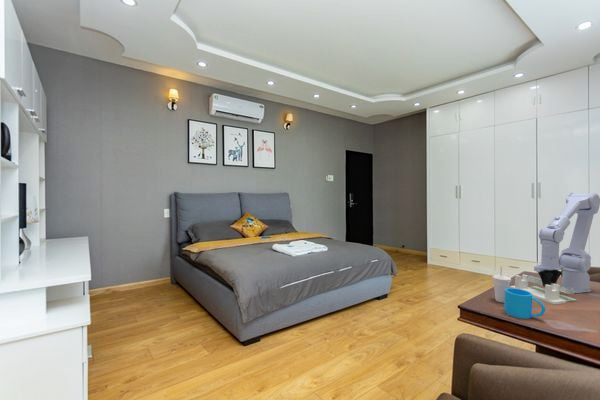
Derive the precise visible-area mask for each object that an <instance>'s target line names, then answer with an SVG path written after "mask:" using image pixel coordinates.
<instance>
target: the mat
mask: <svg viewBox="0 0 600 400" xmlns="http://www.w3.org/2000/svg"><path fill="white" fill-rule="evenodd" d="M528 288H530V289H533V290H536V291H539V292H542V293H544V294H545V288H542V287H539V286H537V285H532V286H528ZM559 299H562V300H565V301H566V303H568V302H575V301H576V302H577V301H578V299H576V298H572V297H571V296H567V295H565V294H561V293H560V295H559Z"/></svg>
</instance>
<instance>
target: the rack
mask: <svg viewBox="0 0 600 400" xmlns="http://www.w3.org/2000/svg"><path fill="white" fill-rule="evenodd" d="M521 275H522V276H521ZM521 275H518V274H516V275H515V276H514V285H510V286H509V288H516V289H522V290H525V291H528V292H530V293H532V294H533V295H532V297H534V298H536V299H538V300H539V301H543V302H546V303H548V304H550V305H551V304H552V305H561V304H562V305H563V304H567V302H566V301H565V300H562V299H559V295H560V294H561V291H560V285H557V284H553V289H552V286H551V285H547V284H546V285H545V287H544V289H545V294H544V293H542V292H539V291H536V290H533V289H530V288H528V287H529V281H528V276H529V275H527V274H523V273H522V274H521Z"/></svg>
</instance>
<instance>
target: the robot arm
mask: <svg viewBox="0 0 600 400" xmlns="http://www.w3.org/2000/svg"><path fill="white" fill-rule="evenodd" d="M599 209H600V196H599V195H598V193H594V192H593V193H583V192H581V193H579V192H577V193H575V192H569V193H568V194H567V196H566V198H565V206H564V208H563V209H562V210H561V212H560V214H559V215H555V216H554V217H553V219H551V221H550V222H549V224H548V225H547V226H546V227H543V228H541V229H540V231H539V234H538V238H539V240H540V245H541V256H540V257H541V260H540V262H541V263H540V264H539V265H538V264H537V265H534V267H533V271H534V272H537V274H538V275H539V278H541V280H542V284H543V287H544V288H545V285H546V284H547V285H550V281H551V282H554V283H557V282H558V279H559V278H560V277H561V285H564V286H568V287H571V288H574V294H582V293H591V292H592V290H591V289H590V279H591V278H590V275H589V273H588V271H589V270H591V269H590V268H591V265H592V263H591V260H592V257H591V255H590V254H589V253H587V251H586V250H585V249H586V246H587V242H588V238H589V236H590V235H589V234H590V230H591V227H592V223H593V220H594V217H595V216H594V215H596V214H598V212H599ZM575 214H577V216H576V219H575V220H576V221H575V224H574V228H573V232H572V236H571V238H570V242H569V243H570V244H569V247H567V248H564V249H562V250H561V251H560V243H561V242H562V241H563V240H564V236H565V231H566V229H568V227H569V226H570V224H571V218H572V217H573V216H575ZM560 252H561V253H560ZM561 270H562V271H561Z"/></svg>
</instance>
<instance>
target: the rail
mask: <svg viewBox="0 0 600 400" xmlns="http://www.w3.org/2000/svg"><path fill="white" fill-rule="evenodd" d="M528 283H533V284H537V285H539V286H543V284H542V280H541V277H538V276H537V277H536V276H534V275H531V274H530V275H528ZM553 284H557V285H560V293H561V292H562V293H564V294H566V295H567V294H568V295H574V294H575V293H574V288H571V287H568V286H564V285H562V283H557V282H556V283H554V282H551V281H550V285H551V286H552V289H553Z"/></svg>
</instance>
